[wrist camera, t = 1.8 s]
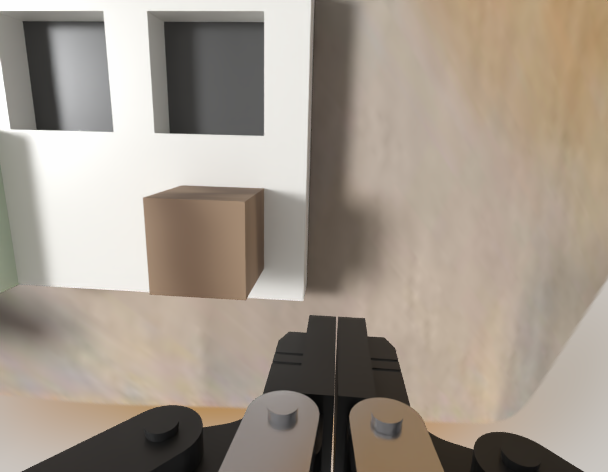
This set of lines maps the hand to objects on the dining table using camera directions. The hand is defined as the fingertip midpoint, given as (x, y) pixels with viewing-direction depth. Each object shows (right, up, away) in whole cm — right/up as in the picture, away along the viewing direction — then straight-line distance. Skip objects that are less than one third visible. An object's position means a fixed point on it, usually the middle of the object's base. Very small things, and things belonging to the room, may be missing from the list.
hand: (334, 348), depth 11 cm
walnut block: (-6, +4, +14) cm, 15 cm away
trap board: (-10, +9, +15) cm, 21 cm away
